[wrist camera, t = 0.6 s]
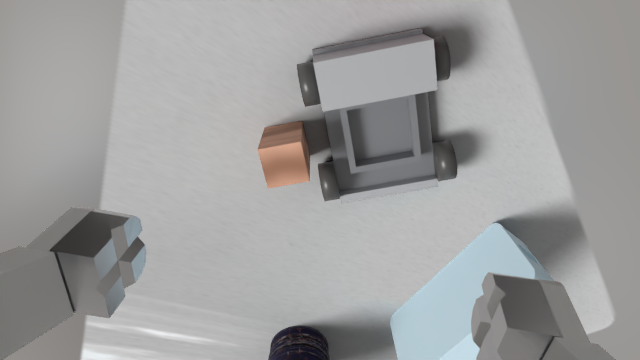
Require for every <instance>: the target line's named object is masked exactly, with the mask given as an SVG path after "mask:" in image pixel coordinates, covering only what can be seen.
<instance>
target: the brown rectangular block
mask: <svg viewBox="0 0 640 360" xmlns="http://www.w3.org/2000/svg"><path fill="white" fill-rule="evenodd" d="M258 153H259V156H260V160H261V164H262V167H263V171H264V175H265V179H266V182H267V186H268V188H273V187H279V186H284V185H290V184H296V183H301V182H307V181H310V154H309V149H308V145H307V140H306V135H305V131H304V126H303V121H298V122H292V123H287V124H282V125H276V126H271V127H266V128H264V131H263V135H262V138H261V141H260V144H259V147H258Z"/></svg>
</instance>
